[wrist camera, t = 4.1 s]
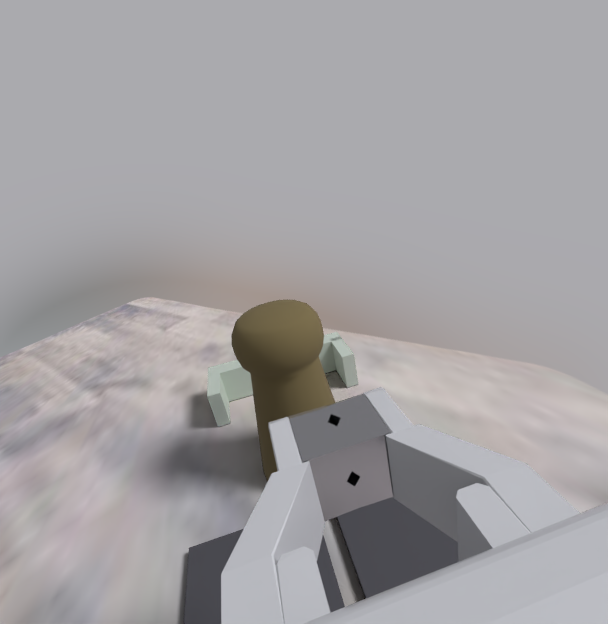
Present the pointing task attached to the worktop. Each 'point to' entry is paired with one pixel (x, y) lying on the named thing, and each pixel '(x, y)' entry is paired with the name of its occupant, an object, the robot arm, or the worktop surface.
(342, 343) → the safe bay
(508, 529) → the robot arm
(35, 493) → the worktop surface
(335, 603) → the trap squares
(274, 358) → the cork
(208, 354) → the worktop surface
